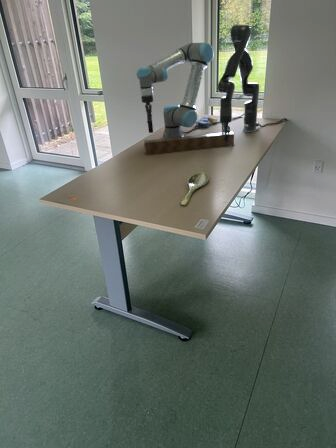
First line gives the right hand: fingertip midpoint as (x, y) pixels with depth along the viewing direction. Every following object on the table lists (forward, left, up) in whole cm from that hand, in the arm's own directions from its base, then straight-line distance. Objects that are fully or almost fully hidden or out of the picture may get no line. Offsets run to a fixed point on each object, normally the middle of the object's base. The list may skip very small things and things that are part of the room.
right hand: (225, 140), depth 223 cm
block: (+16, -18, -4) cm, 25 cm away
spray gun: (-41, -39, -4) cm, 57 cm away
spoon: (+68, +19, -4) cm, 71 cm away
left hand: (+33, -36, +12) cm, 51 cm away
